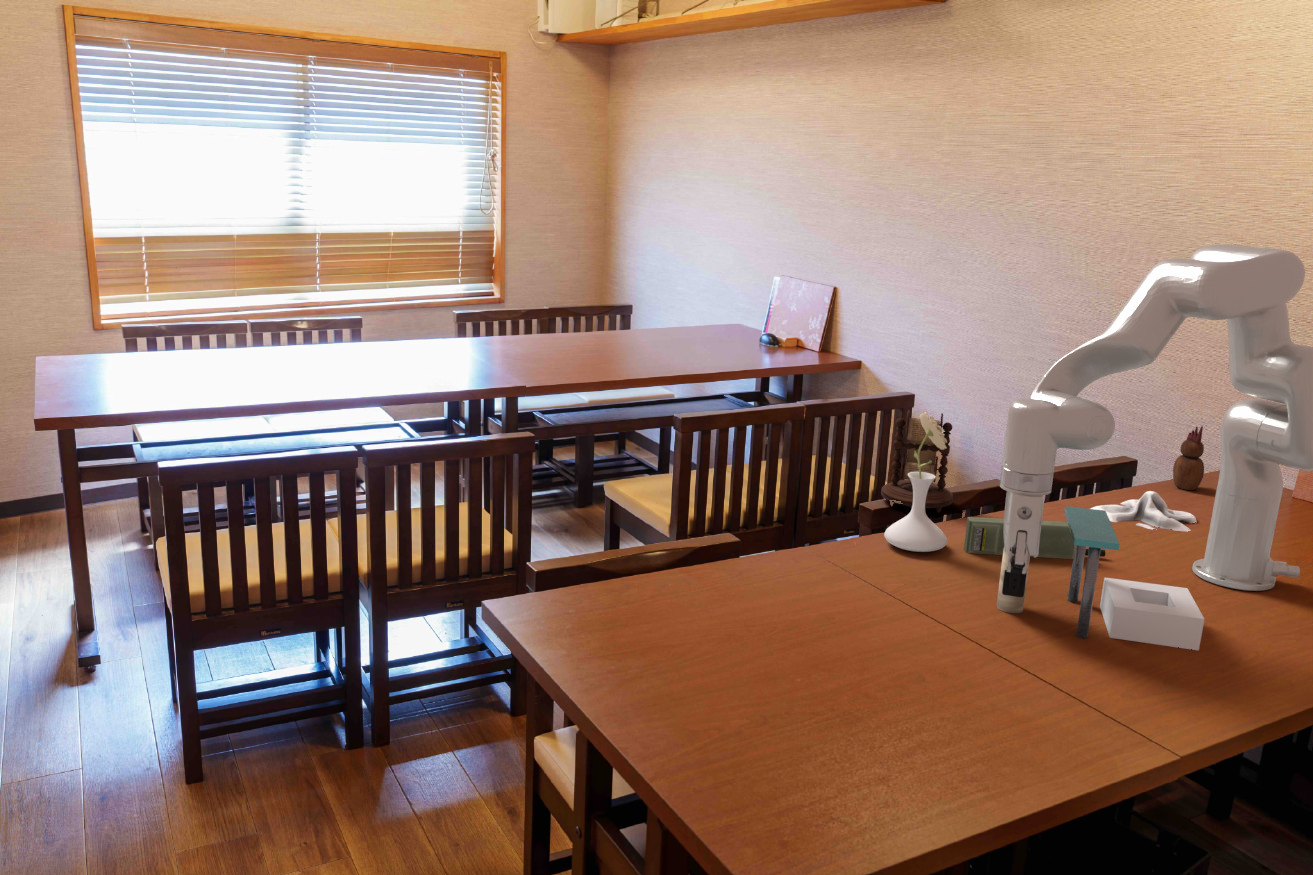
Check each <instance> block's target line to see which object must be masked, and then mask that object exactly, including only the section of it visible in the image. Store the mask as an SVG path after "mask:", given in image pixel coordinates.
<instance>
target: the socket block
mask: <svg viewBox="0 0 1313 875" xmlns="http://www.w3.org/2000/svg"><path fill="white" fill-rule="evenodd" d="M1099 608H1100V611H1101V614H1102V616H1103V617H1102V618H1103V621H1104V624H1105V627H1106V630H1107V634H1108V636H1109V639H1117V640H1125V641H1131V642H1138V643H1142V644H1143V643H1145V644H1151V645H1157V646H1163V647H1166V646H1167V647H1171V648H1178V647H1179V648H1180V649H1185V650H1191V649H1192V650H1193V651H1199V650H1200V645H1201V640H1202V636H1203V635H1202V634H1203V631H1204V630H1203V629H1204V624H1205V617H1204V615H1203V614H1202V612H1201V611H1200V608H1199V607H1198V604H1197V603H1196V602H1195V598H1193V596H1192V594H1191V592H1190V590H1189V588H1187V587H1180V586H1173V585H1166V584H1158V583H1152V582H1142V581H1135V580H1126V579H1119V578H1113V577H1103V584H1102V590H1101V599H1100V604H1099Z"/></svg>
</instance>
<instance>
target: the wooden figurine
mask: <svg viewBox="0 0 1313 875" xmlns="http://www.w3.org/2000/svg"><path fill="white" fill-rule="evenodd" d="M1203 429H1204V426H1200V428H1199V426H1196V427H1195V428H1194V429H1192V430H1191V432H1188V434H1187V436H1186V440H1185V439H1184V441H1182V442H1181V445H1180V449H1179V450H1180V453H1181V455H1179V456H1178V457H1176V459H1175V461H1174V463H1173V466H1172V477H1173V484H1174V485H1175V486H1176V487H1177V488H1179V489H1180V490H1185V491H1194V490H1196V489H1198V487H1199V486H1200V485H1201V483H1202V481H1203V478H1204V473H1205V466H1204V465H1205V464H1204V462H1203V460H1202V458H1201V457H1202V456H1203V454H1204V451H1205V450H1204V449H1205V446H1204V443H1203V442H1202V437H1203ZM1198 430H1199V431H1198Z"/></svg>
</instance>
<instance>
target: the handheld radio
mask: <svg viewBox="0 0 1313 875" xmlns="http://www.w3.org/2000/svg"><path fill="white" fill-rule="evenodd" d="M965 527H966V528H965V535H964V536H965V537H964V544H963V550H964V551H965V553H967V554H977V555H978V554H979V555H980V554H981V555H997V556H999V555H1000V556H1003V549H1004V535H1003V527H1004V518H996V517H995V518H994V517H993V518H992V517H975V516H974V517H973V516H967V520H966V526H965ZM1074 550H1075V545H1074V543H1073V540H1072V536H1071V533H1070V530H1069V526H1068V523H1067V521H1054V520H1053V521H1052V520H1042V524H1041V532H1040V542H1039V552H1038V556H1037V557H1036V558H1047V559H1048V558H1051V559H1067V560H1068V559H1069V560H1073V557H1074ZM1088 551H1089V548H1086V550H1085V557H1088ZM1106 555H1107V554H1106V549H1101V552H1100V558H1101V557H1104V558H1105V556H1106ZM1031 557H1033V556H1030V558H1031ZM1033 558H1034V557H1033Z"/></svg>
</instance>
